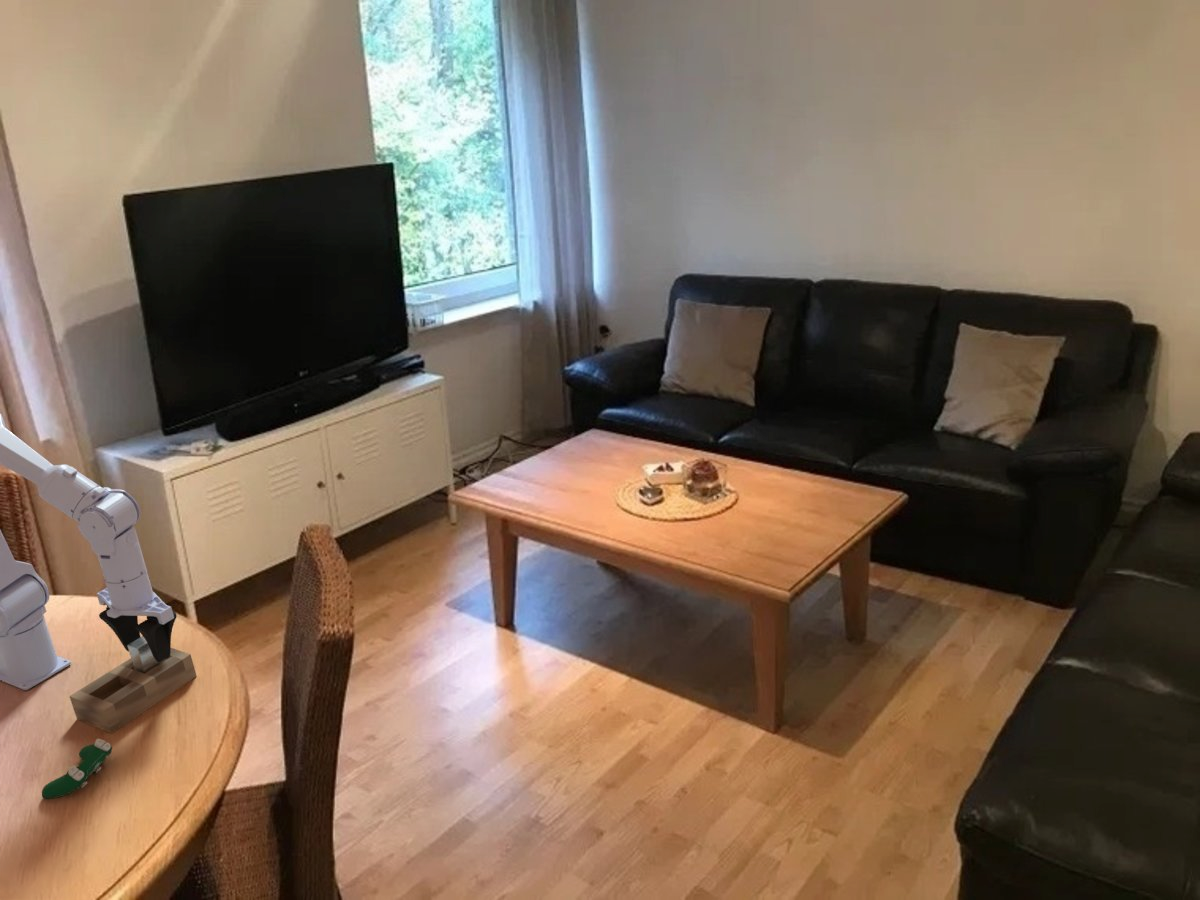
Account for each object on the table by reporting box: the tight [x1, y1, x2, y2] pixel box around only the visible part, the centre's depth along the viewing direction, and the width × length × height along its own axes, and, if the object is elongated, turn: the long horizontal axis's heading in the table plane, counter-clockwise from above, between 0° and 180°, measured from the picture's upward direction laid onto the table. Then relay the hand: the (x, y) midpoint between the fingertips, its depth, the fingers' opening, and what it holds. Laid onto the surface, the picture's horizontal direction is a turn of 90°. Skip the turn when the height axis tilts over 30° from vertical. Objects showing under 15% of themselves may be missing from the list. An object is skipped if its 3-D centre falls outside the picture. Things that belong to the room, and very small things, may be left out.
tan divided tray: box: [69, 647, 197, 734], centre depth 157 cm, size 8×15×4 cm, turn 149°
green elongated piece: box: [41, 738, 113, 799], centre depth 140 cm, size 9×4×6 cm
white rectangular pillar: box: [127, 635, 167, 674], centre depth 159 cm, size 2×6×7 cm, turn 149°
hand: (148, 653), depth 158 cm, fingers open, 6 cm apart
